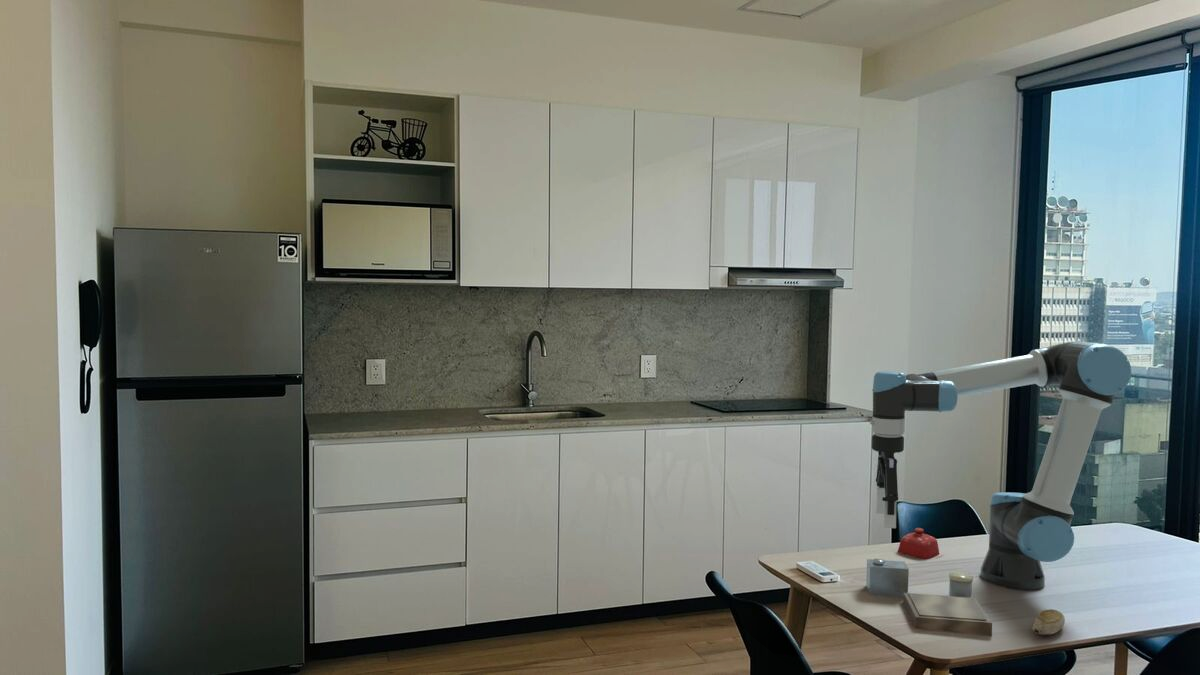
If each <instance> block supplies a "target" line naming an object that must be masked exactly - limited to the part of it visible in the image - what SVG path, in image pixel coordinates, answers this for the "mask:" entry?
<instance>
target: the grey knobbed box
mask: <svg viewBox="0 0 1200 675" xmlns="http://www.w3.org/2000/svg"><path fill="white" fill-rule="evenodd" d="M909 570H910V569H909V567H908V566H907V563H906V562H905V561H900V560H885V559H883V558H873V559H869V558H868V559H866V578H865V580H866V581H865V587H866V589H867V592H868V595H870V596H879V597H890V598H891V597H892V598H902V599H903V596H904V593H909V576H910V575H909Z"/></svg>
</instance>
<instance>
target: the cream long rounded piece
mask: <svg viewBox="0 0 1200 675" xmlns="http://www.w3.org/2000/svg"><path fill="white" fill-rule="evenodd" d="M1065 623H1066V619H1065V616H1064V614H1063V613H1062V612H1061V611H1059V610H1056V609H1052V608H1051V609H1044V610H1041V611H1040V612H1038V614H1037V615H1036V616H1035V618H1034V621H1033V624H1032V631H1033V632H1034V633H1035V634H1039V635H1040V636H1050V635H1054V634H1056V633H1058V632H1059V631H1060V630H1061V629H1063V628H1064V626H1065Z"/></svg>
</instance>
